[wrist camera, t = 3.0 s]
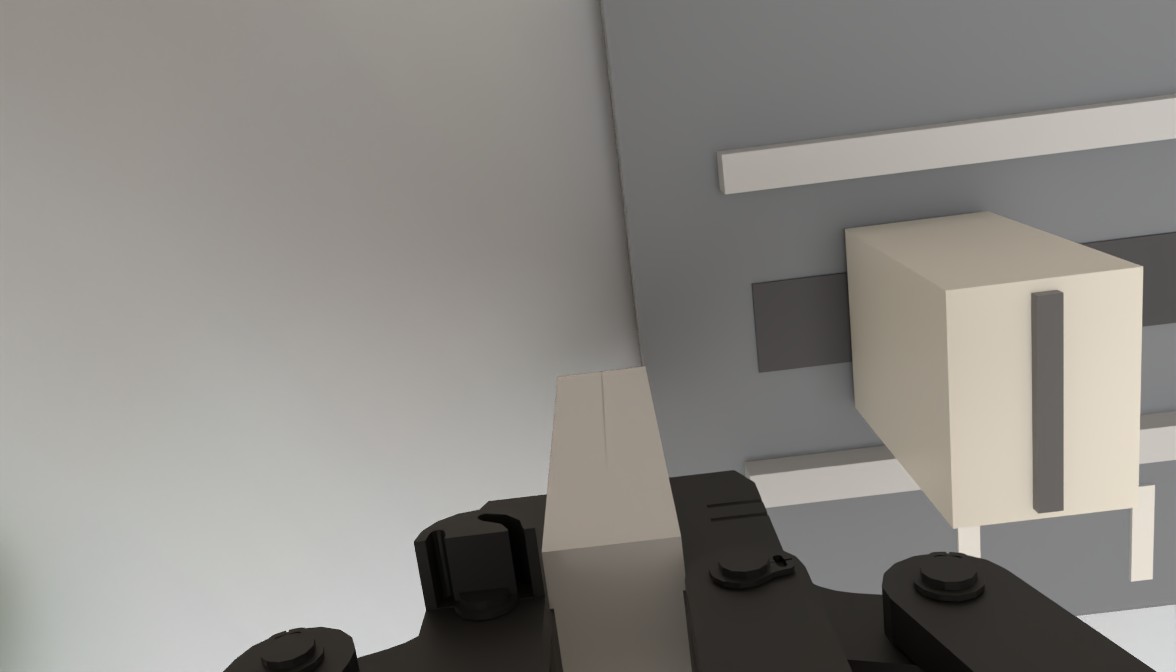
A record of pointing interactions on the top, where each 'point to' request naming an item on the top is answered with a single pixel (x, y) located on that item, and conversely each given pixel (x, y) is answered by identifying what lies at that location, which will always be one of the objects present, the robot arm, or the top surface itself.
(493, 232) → the top surface
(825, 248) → the console
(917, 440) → the fader tab
